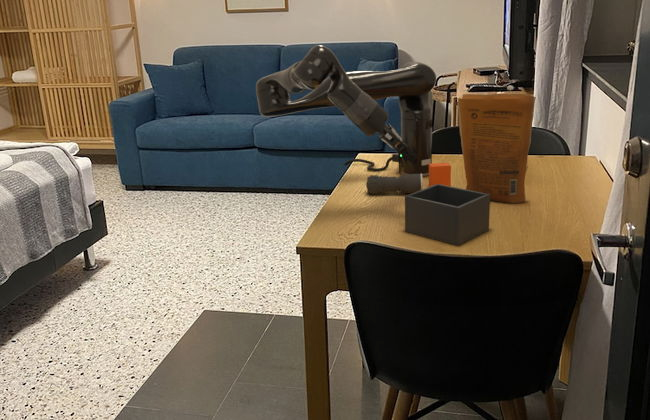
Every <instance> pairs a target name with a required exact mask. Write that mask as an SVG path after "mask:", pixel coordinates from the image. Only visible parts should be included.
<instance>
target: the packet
mask: <svg viewBox="0 0 650 420" xmlns="http://www.w3.org/2000/svg"><path fill="white" fill-rule="evenodd" d="M451 179H452V165H451V164H450V163H449V162H437V163H432V164H429V175H428V187H430V186H433V185H435V184H441V185H446V186H451V185H452V183H451V182H452V180H451ZM451 187H452V186H451Z"/></svg>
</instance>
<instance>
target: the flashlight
mask: <svg viewBox="0 0 650 420" xmlns="http://www.w3.org/2000/svg"><path fill="white" fill-rule="evenodd" d="M423 183H424V182H423V176H422V174H410V175H402V174H400V175H399V176H387V175H386V176H382V175H379V176H378V175H377V174H374V175H369V176H367V177H366V184H365V187H366V189H367V194H370V195H378V194H382V193H397V192H400V194H412V193H414V192H417V191H420V190H422V189H424V188H423Z"/></svg>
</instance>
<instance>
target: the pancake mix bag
mask: <svg viewBox="0 0 650 420" xmlns="http://www.w3.org/2000/svg"><path fill="white" fill-rule="evenodd" d="M456 105H457V106H456V107H457V114H458V124H459V136H460V140H461V141H460V144H461V145H460V146H461V150H462V158H463V169H464V173H465V174H464V175H465V181H466V187H465V189H466V190H471V191H476V192H481V193H486V194H490V202H499V203H506V204H521V203H526V202H527V198H526V191H525V190H526V189H525V188H526V187H525V186H526V185H525V184H526V182H525V181H526V174H527V168H528V167H527V166H528V155H529V152H530V146H531V143H530V139H531V140H532V130H533V129H532V128H533V120H534V116H535V106H536V96H534V95H531V94H528V93H527V94H526V93H489V94H488V93H487V94H482V93H479V94H478V93H477V94H476V93H463V94H462V97H457V103H456Z"/></svg>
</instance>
